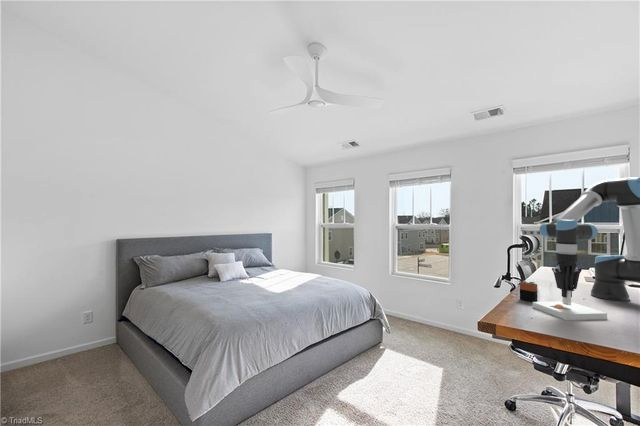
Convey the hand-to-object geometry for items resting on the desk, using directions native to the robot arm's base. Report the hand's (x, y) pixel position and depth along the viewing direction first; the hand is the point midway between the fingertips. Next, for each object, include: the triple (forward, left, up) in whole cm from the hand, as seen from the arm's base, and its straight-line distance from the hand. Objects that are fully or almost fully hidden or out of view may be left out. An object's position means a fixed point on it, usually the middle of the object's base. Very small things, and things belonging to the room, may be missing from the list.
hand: (566, 304), depth 136 cm
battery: (+2, -20, -4) cm, 21 cm away
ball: (+4, 0, -2) cm, 4 cm away
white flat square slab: (0, 0, -4) cm, 4 cm away
